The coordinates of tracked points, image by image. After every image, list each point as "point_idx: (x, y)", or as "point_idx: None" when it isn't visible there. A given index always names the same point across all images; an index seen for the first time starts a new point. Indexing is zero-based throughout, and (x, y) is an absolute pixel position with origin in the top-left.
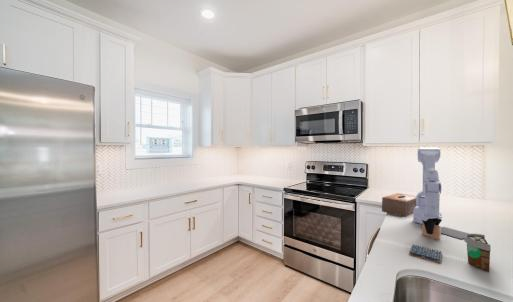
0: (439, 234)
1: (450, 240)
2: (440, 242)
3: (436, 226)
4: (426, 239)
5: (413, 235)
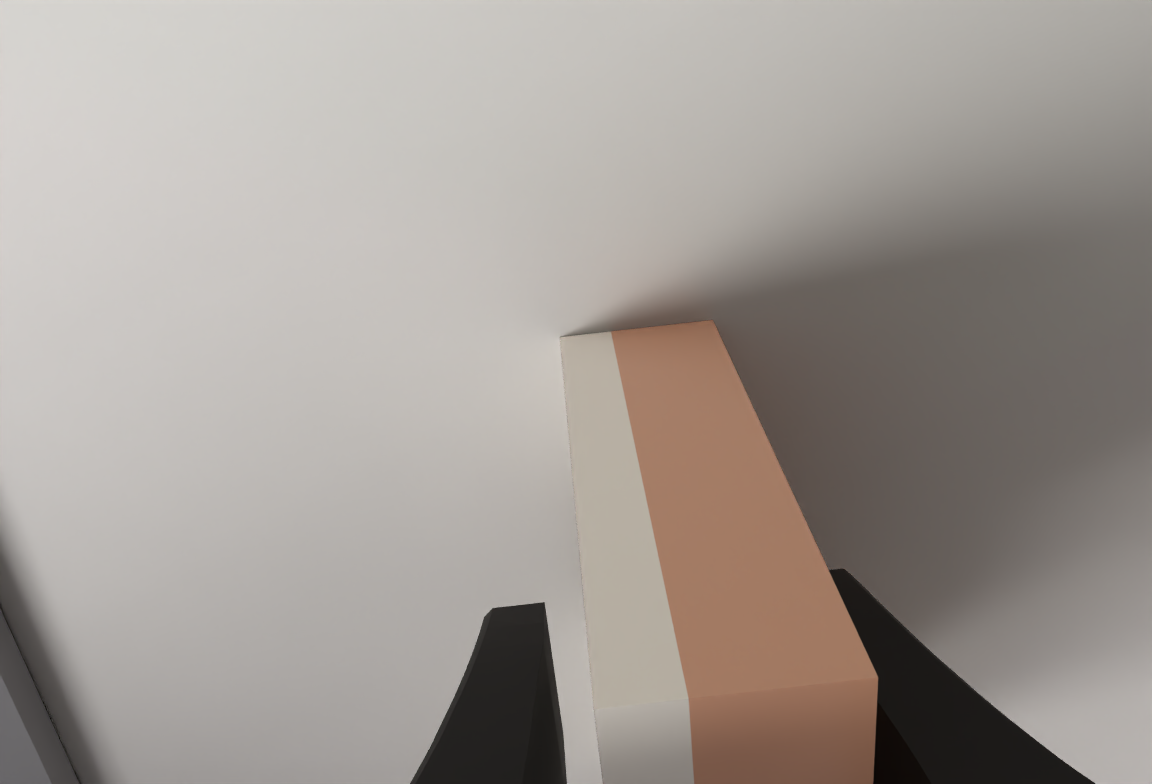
0: (683, 417)
1: (347, 85)
2: (1018, 99)
3: (872, 780)
4: (1147, 451)
5: (1120, 755)
